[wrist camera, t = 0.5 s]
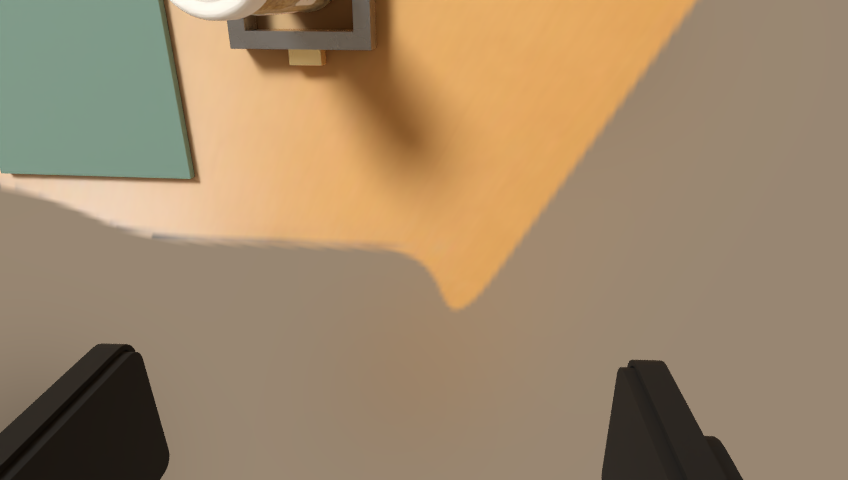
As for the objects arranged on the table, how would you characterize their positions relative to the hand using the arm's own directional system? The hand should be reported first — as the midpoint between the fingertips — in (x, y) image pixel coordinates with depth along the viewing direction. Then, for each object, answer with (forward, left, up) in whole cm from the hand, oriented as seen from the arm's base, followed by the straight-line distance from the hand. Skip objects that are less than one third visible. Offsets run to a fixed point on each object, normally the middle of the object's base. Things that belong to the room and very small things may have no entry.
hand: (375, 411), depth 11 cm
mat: (-3, -24, -27) cm, 37 cm away
